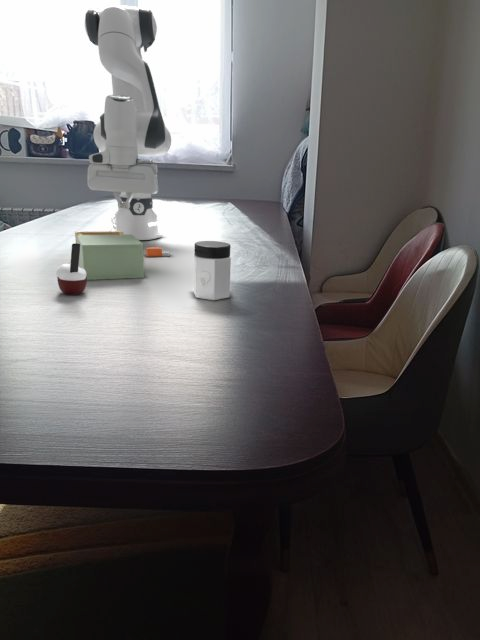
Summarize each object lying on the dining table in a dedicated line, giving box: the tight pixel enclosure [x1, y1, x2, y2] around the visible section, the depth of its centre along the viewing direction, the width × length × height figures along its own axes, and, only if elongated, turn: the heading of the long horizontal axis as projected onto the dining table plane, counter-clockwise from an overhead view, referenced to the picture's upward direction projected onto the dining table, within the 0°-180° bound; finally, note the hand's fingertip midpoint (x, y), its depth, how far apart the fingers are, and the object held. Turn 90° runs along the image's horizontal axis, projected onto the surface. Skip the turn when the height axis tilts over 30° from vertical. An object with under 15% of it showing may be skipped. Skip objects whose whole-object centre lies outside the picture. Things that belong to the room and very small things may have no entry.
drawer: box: [74, 230, 124, 244], centre depth 146 cm, size 18×13×7 cm
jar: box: [193, 240, 232, 301], centre depth 118 cm, size 9×8×12 cm
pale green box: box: [76, 235, 145, 281], centre depth 134 cm, size 15×15×9 cm
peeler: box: [145, 246, 171, 257], centre depth 159 cm, size 7×3×2 cm, turn 114°
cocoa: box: [56, 243, 88, 296], centre depth 113 cm, size 10×6×12 cm, turn 12°
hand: (124, 208), depth 151 cm, fingers closed
